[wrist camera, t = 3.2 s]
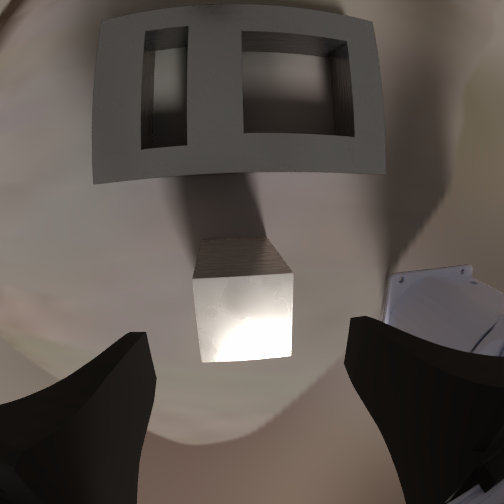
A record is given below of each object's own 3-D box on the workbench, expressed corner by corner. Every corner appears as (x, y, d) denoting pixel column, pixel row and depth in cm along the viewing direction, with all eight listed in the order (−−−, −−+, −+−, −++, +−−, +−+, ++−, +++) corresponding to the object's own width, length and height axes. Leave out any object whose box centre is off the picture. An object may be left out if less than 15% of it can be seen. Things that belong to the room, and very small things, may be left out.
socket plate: (353, 38, 15) (372, 21, 13) (362, 173, 18) (386, 174, 15) (116, 39, 14) (101, 20, 11) (112, 182, 17) (93, 184, 14)
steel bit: (266, 236, 19) (293, 273, 12) (267, 296, 20) (290, 355, 13) (201, 239, 18) (192, 279, 11) (206, 299, 19) (202, 362, 12)
